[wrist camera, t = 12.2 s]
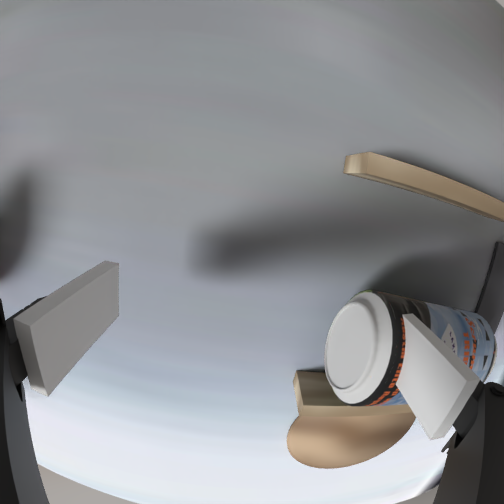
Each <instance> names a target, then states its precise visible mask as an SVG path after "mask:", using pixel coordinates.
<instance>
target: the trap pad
mask: <svg viewBox="0 0 504 504" xmlns="http://www.w3.org/2000/svg"><path fill="white" fill-rule="evenodd" d="M503 312H504V244H502V243H499V242H496V246H495V250H494V254H493V258H492V261H491V265H490V269H489V272H488V275H487V279H486V282H485V285H484V288H483V291H482V294H481V297H480V300H479V303H478V305H477V308H476V311H475V313H477V314H478V315H480V316H482V317H483V318H484V319H485V320H486V321H487V322H488V324H489V325H490V327H491V329H492V331H493V334H495V332H496V329H497V327H498V325H499V322H500V320H501V317H502V315H503Z"/></svg>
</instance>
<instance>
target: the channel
mask: <svg viewBox="0 0 504 504" xmlns="http://www.w3.org/2000/svg"><path fill="white" fill-rule="evenodd" d="M343 173H344V174H349V175H353V176H357V177H361V178H365V179H369V180H373V181H376V182H380V183H384V184H388V185H391V186H395V187H398V188H402V189H405V190H409V191H412V192H415V193H418V194H422V195H425V196H428V197H431V198H434V199H437V200H440V201H443V202H446V203H449V204H452V205H455V206H458V207H461V208H464V209H466V210H469V211H472V212H474V213H477V214H480V215H482V216H485V217H488V218H492V219H495V220H499V221H502V222H504V202H502V201H500V200H498V199H496V198H493V197H491V196H489V195H487V194H485V193H483V192H480V191H478V190H476V189H473V188H471V187H469V186H466V185H464V184H462V183H459V182H457V181H454V180H452V179H449V178H447V177H444V176H441V175H439V174H436V173H433V172H431V171H428V170H425V169H422V168H419V167H416V166H414V165H411V164H408V163H405V162H401V161H398V160H395V159H392V158H389V157H385V156H382V155H379V154H375V153H372V152H366V153H360V154H354V155H349V156H346V159H345V166H344V172H343ZM293 384H294V390H295V395H296V401H297V407H298V412H299V416H307V417H352V416H374V415H387V414H398V413H408V412H413V411H412V410H411V408H410V406H409V405H408V404H404V405H388V406H349V405H346V404H344V403H343V402H341V401H340V400H339V398H338V397H337V396H336V394H335V392H334V391H333V388H332V386H331V385H330V383H329V381H328V379H327V376H326V373H322V372H307V371H296V374H295V377H294V380H293Z"/></svg>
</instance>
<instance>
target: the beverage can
mask: <svg viewBox="0 0 504 504" xmlns="http://www.w3.org/2000/svg"><path fill="white" fill-rule="evenodd" d="M412 313H413V314H414V315H415V316H416V317H417V318H418V319H419V320H420V321H421V322H422V323H423V324H425V325H426V326H427V327H428V328H429V329H430V330H431V331H432V332H433V333H434V334H435V335H436V336H437V337H438V338H439V339H440V340H442V341H443V342H444V343H445V344H446V345H447V346H448V347H449V348H450V349H451V350H452V351H453V352H454V353H455V354H456V355H457V356H458V357H459V358H460V359H461V360H462V361H463V362H464V363H465V364H466V365H467V366H468V367H469V368H470V369H471V370H472V371H473V372H474V373H475V374H476V375H477V376H478V377H479V378H480V380H481V381H482V382H483V383H484V382H485V380H486V379H487V377H488V376H489V375H490V373H491V371H492V370H493V367H494V365H495V361H496V357H497V343H496V339H495V336H494V334H493V331H492V329H491V327H490V325H489V324H488V322H487V321H486V320H485V319H484V318H483V317H482V316H480V315H478V314H477V313H473V312H470V311H465V310H460V309H456V308H451V307H447V306H442V305H438V304H433V303H429V302H425V301H420V300H416V299H411V298H407V297H402V296H398V295H394V294H389V293H385V292H381V291H376V290H365V291H362V292H360V293H358V294H356V295H355V296H354V297H353V298H351V299H350V300H349V302H348V303H347V304H346V305H345V306H344V307H343V308H342V309H341V310H340V311H339V312H338V314H337V315H336V317H335V318H334V320H333V322H332V324H331V327H330V329H329V333H328V336H327V340H326V345H325V354H324V364H325V372H326V376H327V379H328V381H329V383H330V385H331V386H332V388H333V391H334V392H335V394H336V396H337V397H338V398H339V400H340V401H341V402H343V403H344V404H346V405H349V406H388V405H404V404H408V403H407V402H406V400H405V398H404V397H403V395H402V394H401V392H400V390H399V389H398V387H397V386H396V382H397V380H398V378H399V375H400V372H401V369H402V365H403V360H404V355H405V344H406V337H405V325H404V319H403V316H402V315H403V314H412Z"/></svg>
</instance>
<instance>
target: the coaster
mask: <svg viewBox="0 0 504 504" xmlns="http://www.w3.org/2000/svg"><path fill="white" fill-rule="evenodd" d="M415 418H416V416H415V415H414V413H413V412H408V413H398V414H387V415H374V416H352V417H307V416H298V417H297V418H296V419H295V421H294V422H293V424H292V425H291V427H290V429H289V432H288V435H287V446H288V450H289V452H290V454H291V455H292V456H293V458H295V459H296V460H297V461H299V462H300V463H302V464H305V465H307V466H311V467H316V468H326V469H328V468H341V467H347V466H351V465H355V464H358V463H361V462H364V461H367V460H369V459H371V458H373V457H375V456H377V455H379V454H381V453H383V452H384V451H386V450H387V449H389V448H390V447H392V446H393V445H394V444H395V443H397V442H398V441H399V440H400V439H401V438H402V437H403V436H404V435H405V434H406V433H407V431H408V430H409V429H410V427H411V426H412V424H413V422H414V420H415Z"/></svg>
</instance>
